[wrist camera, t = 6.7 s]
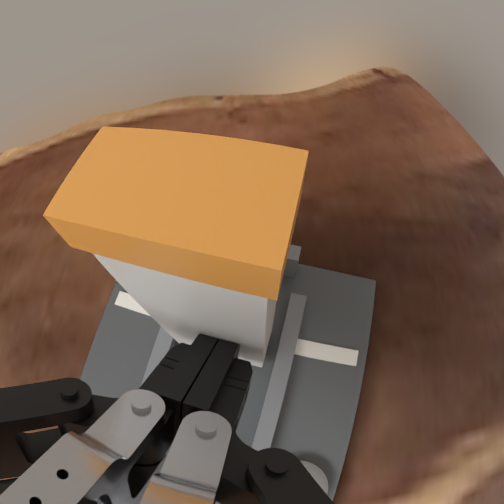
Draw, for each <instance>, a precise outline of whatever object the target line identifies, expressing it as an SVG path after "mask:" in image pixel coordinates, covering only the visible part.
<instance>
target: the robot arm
mask: <svg viewBox="0 0 504 504" xmlns="http://www.w3.org/2000/svg"><path fill="white" fill-rule="evenodd" d="M239 350H240V345H239V344H235V343H231V342H228V341H224V340H219V339H217V338H213V337H210V336H206V335H203V334H198V336H197V337H196V338H195V340H194V341H193V343H192V344H191V345H189V344H186V343H180V344H178V345H176V346H174V347H172V348H171V349H170V350H169V351H168V352H167V354H166V355H165V356H164V358H163V359H162V360H161V361H160V363H159V365H157V366H156V368H155V369H154V370H153V371H152V373H151V374H150V375H149V376H148V378H147V379H146V380H145V381H144V383H143V384H142V385H141V387H140V388H139V389H137V390H131V391H128V392H126V393H124V394H123V395H122V396H121V397H120V398H110V397H104V396H99V395H93V394H92V391H91V388H90V387H89V385H88V384H87V383H85V382H84V381H82V380H80V379H76V378H63V379H57V380H52V381H46V382H40V383H34V384H28V385H21V386H14V387H7V388H0V479H4V478H12V477H19V476H20V477H19V478H13V479H7V480H0V504H139V502H140V504H215V503H216V501H217V502H219V503H220V504H334V503H333V501H332V500H331V499H330V498H329V497H328V495H327V494H326V493H325V492H324V490H323V489H322V488H321V487H320V486H319V484H318V483H317V482H316V481H315V479H314V478H313V477H312V476H311V474H310V473H309V472H308V470H307V469H306V468H305V467H304V465H303V464H302V463H301V461H300V460H299V459H298V458H297V457H296V456H295V455H294V454H292V453H291V452H289V451H287V450H284V449H280V448H266V449H262V450H259V451H257V450H255V449H253V448H251V447H250V446H248V445H246V444H245V443H244V442H242V441H241V440H240V438H239V437H238V436H237V434H236V429H237V427H238V424H239V421H240V418H241V415H242V412H243V409H244V406H245V403H246V400H247V396H248V391H249V387H250V383H251V378H252V374H253V370H252V367H251V363H250V362H249V361H245V360H242V359H238V355H239ZM57 425H58V428H56V429H51V430H46V431H40V432H35V433H23V432H24V431H30V430H36V429H41V428H47V427H52V426H57ZM170 446H171V448H170V450H169V452H168V455H167V457H166V452H167V450H168V449H169V447H170ZM140 500H141V501H140Z"/></svg>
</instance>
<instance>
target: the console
mask: <svg viewBox="0 0 504 504" xmlns="http://www.w3.org/2000/svg"><path fill="white" fill-rule="evenodd" d="M300 252H301V247H300V246H296V245H291V244H290V249H289V253H288V257H287V262H286V266H285V270H284V274H283V278H282V283H281V287H280V291H279V295H278V299H277V301H276V307H275V314H274V320H273V327H272V331H271V335H270V339H269V343H268V347H267V351H266V355H265V359H264V363H263V366H262V367H258V366H254V365H251V367H252V370H253V374H252V378H251V383H250V387H249V391H248V396H247V400H246V403H245V406H244V409H243V412H242V415H241V418H240V421H239V424H238V427H237V429H236V434H237V436H238V437H239V438H240V440H241V441H242V442H244V443H245V444H246V445H248V446H250V447H251V448H253V449H255V450H257V451H259V450H262V449H266V448H280V449H284V450H287V451H289V452H291V453H292V454H294V455H295V456H296V457H297V458H298V459H299V460H300V461H301V463H302V464H303V465H304V467H305V468H306V469H307V470H308V472H309V473H310V474H311V476H312V477H313V478H314V479H315V481H316V482H317V483H318V484H319V486H320V487H321V488H322V489H323V490H324V492H325V493H326V494H327V495H328V497H329V498H330V499H331V500H332V501H333V498H334V495H335V492H336V488H337V485H338V482H339V478H340V475H341V471H342V468H343V464H344V460H345V457H346V453H347V449H348V445H349V441H350V437H351V433H352V428H353V424H354V420H355V415H356V411H357V406H358V401H359V396H360V391H361V386H362V380H363V375H364V369H365V363H366V357H367V351H368V344H369V337H370V330H371V323H372V315H373V306H374V297H375V287H376V280H372V279H367V278H363V277H358V276H353V275H349V274H344V273H340V272H335V271H331V270H326V269H321V268H317V267H312V266H308V265H303V264H299V263H298V261H299V256H300ZM178 344H179V343H178V342H177V341H176V340H175V339H174V338H173V337H172V336H171V335H170V334H169V333H168V332H167V331H165V330H164V329H163V328H162V327H161V326H160V325H159V324H158V323H157V322H156V321H155V320H154V319H153V318H152V317H151V316H150V315H149V314H148V313H147V312H146V311H145V310H144V309H143V308H142V307H141V306H140V305H139V304H138V303H137V302H136V301H135V299H134V298H133V297H132V296H131V295H130V294H129V293H128V292H127V291H126V290H125V289H124V288H123V287H122V286H121V285H120V284H119V283H118V282H116V284H115V287H114V289H113V292H112V294H111V296H110V299H109V301H108V304H107V306H106V309H105V311H104V314H103V316H102V319H101V322H100V324H99V327H98V330H97V332H96V335H95V338H94V340H93V343H92V346H91V349H90V352H89V355H88V357H87V360H86V363H85V366H84V369H83V372H82V375H81V378H80V380H82V381H84V382H85V383H87V384H88V385H89V387H90V388H91V391H92V394H93V395H99V396H104V397H110V398H120V397H121V396H122V395H123V394H124V393H126V392H128V391H131V390H137V389H139V388H140V387H141V385H142V384H143V383H144V381H145V380H146V379H147V378H148V376H149V375H150V374H151V373H152V371H153V370H154V369H155V368H156V366H157V365H159V363H160V361H161V360H162V359H163V358H164V356H165V355H166V354H167V352H168V351H169V350H170V349H171V348H172V347H174V346H176V345H178ZM170 448H171V446H170V447H169V449H168V450H167V452H166V457H167V455H168V452H169V450H170ZM140 501H141V500H140ZM139 504H140V502H139ZM215 504H220V503H219V502H217V501H216V503H215Z"/></svg>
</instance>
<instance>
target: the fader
mask: <svg viewBox="0 0 504 504" xmlns="http://www.w3.org/2000/svg"><path fill="white" fill-rule="evenodd" d="M308 152H309V151H307V150H302V149H297V148H292V147H286V146H281V145H275V144H269V143H263V142H257V141H251V140H244V139H237V138H230V137H222V136H215V135H207V134H198V133H189V132H179V131H168V130H156V129H142V128H126V127H102V128H101V129H100V130H99V132H98V133H97V134H96V136H95V137H94V138H93V140H92V141H91V142H90V144H89V145H88V146H87V148H86V149H85V151H84V152H83V153H82V155H81V156H80V158H79V159H78V160H77V162H76V163H75V165H74V166H73V168H72V169H71V171H70V172H69V174H68V175H67V177H66V178H65V180H64V181H63V183H62V184H61V186H60V188H59V189H58V191H57V192H56V194H55V196H54V197H53V199H52V201H51V202H50V204H49V206H48V207H47V209H46V211H45V212H44V214H43V216H44V217H45V218H46V219H47V221H48V222H49V223H50V224H51V225H52V226H53V228H54V229H55V230H56V231H57V232H58V233H59V234H60V235H61V237H62V238H63V239H64V240H65V241H66V242H67V243H68V244H69V245H70V247H73V248H76V249H80V250H83V251H87V252H90V253H92V254H93V255H94V256H95V257H96V258H97V259H98V260H99V262H100V263H101V264H102V265H103V266H104V267H105V268H106V269H107V271H108V272H109V273H110V274H111V275H112V276H113V277H114V278H115V279H116V280H117V282H118V283H119V284H120V285H121V286H122V287H123V288H124V289H125V290H126V291H127V292H128V293H129V294H130V295H131V296H132V297H133V298H134V299H135V301H136V302H137V303H138V304H139V305H140V306H141V307H142V308H143V309H144V310H145V311H146V312H147V313H148V314H149V315H150V316H151V317H152V318H153V319H154V320H155V321H156V322H157V323H158V324H159V325H160V326H161V327H162V328H163V329H164V330H165V331H167V332H168V333H169V334H170V335H171V336H172V337H173V338H174V339H175V340H176V341H177V342H178V343H179V344H180V343H186V344H189V345H191V344H192V343H193V341H194V340H195V338H196V337H197V336H198V334H203V335H206V336H210V337H213V338H217V339H219V340H224V341H228V342H231V343H235V344H239V345H240V350H239V355H238V359H242V360H245V361H249V362H250V363H251V365H254V366H258V367H262V366H263V363H264V359H265V355H266V351H267V347H268V343H269V339H270V335H271V331H272V327H273V320H274V314H275V307H276V301H277V299H278V295H279V291H280V287H281V283H282V278H283V274H284V270H285V266H286V262H287V257H288V253H289V249H290V244H291V240H292V236H293V231H294V227H295V222H296V218H297V213H298V209H299V204H300V200H301V195H302V190H303V184H304V178H305V171H306V165H307V159H308Z"/></svg>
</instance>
